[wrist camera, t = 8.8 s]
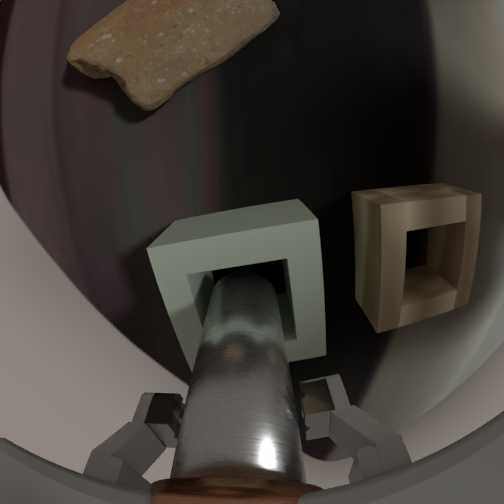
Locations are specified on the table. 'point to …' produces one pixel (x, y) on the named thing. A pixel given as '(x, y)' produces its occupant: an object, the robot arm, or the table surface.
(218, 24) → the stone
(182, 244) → the socket block
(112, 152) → the table surface
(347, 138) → the table surface
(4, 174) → the table surface
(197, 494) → the pin
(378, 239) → the mount block
